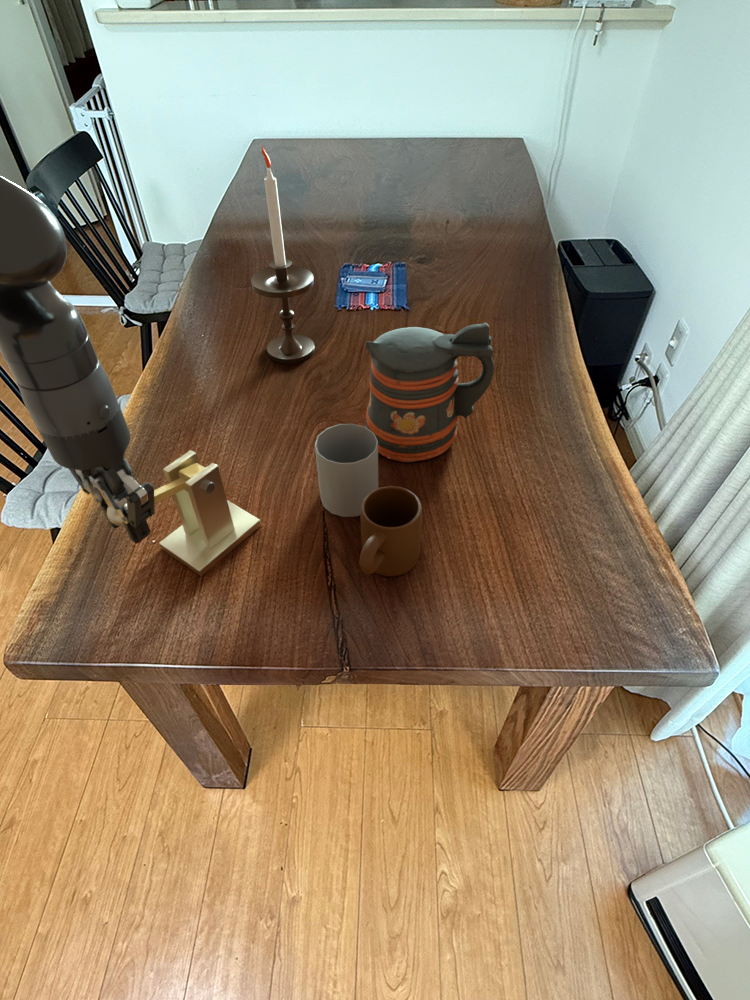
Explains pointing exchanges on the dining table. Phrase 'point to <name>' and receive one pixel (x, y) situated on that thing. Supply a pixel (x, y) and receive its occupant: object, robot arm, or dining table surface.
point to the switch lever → (162, 490)
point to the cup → (346, 467)
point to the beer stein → (423, 388)
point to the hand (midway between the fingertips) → (131, 529)
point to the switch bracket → (204, 518)
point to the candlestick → (282, 283)
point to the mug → (390, 531)
